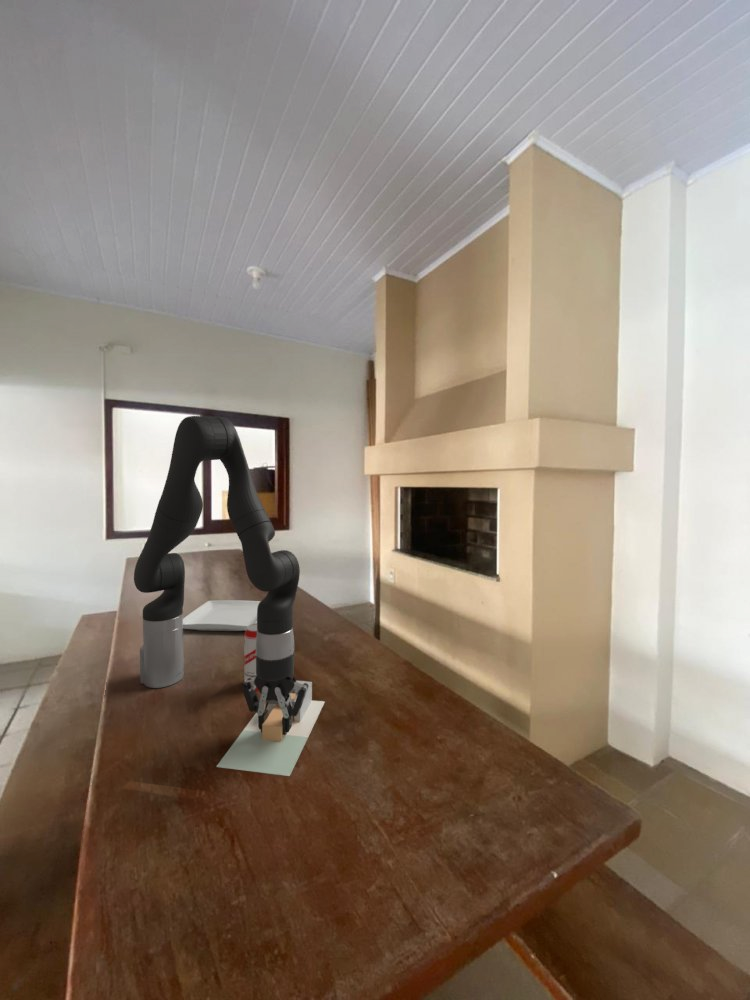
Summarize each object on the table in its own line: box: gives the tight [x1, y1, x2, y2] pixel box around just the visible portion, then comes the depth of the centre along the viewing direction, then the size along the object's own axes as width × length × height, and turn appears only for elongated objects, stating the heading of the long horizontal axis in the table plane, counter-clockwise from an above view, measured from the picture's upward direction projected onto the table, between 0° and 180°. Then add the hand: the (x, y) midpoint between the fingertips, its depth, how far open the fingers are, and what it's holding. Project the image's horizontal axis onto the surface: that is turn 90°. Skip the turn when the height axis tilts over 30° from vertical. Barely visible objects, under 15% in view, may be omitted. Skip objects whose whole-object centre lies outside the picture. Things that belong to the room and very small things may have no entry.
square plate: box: [183, 599, 262, 632], centre depth 147 cm, size 27×27×4 cm
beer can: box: [243, 623, 260, 692], centre depth 100 cm, size 6×6×16 cm
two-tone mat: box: [215, 680, 326, 777], centre depth 82 cm, size 14×23×6 cm, turn 172°
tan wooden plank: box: [262, 693, 297, 741], centre depth 85 cm, size 4×12×3 cm, turn 172°
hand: (275, 730), depth 81 cm, fingers closed on tan wooden plank, 4 cm apart
